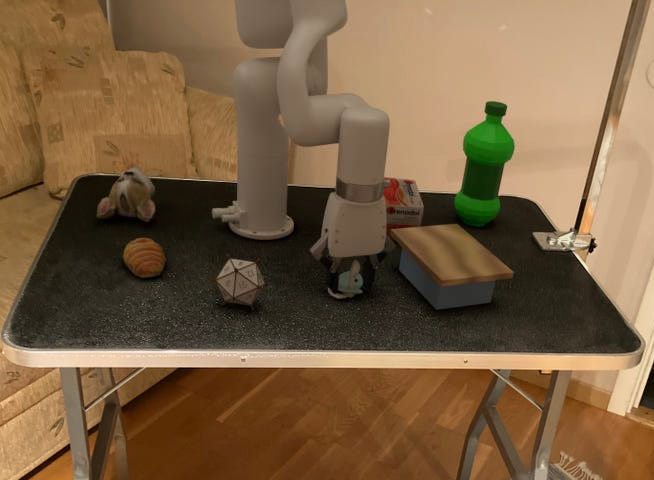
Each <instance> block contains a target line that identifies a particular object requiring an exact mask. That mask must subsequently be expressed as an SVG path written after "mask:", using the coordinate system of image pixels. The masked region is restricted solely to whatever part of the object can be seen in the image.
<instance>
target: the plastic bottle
mask: <svg viewBox="0 0 654 480" xmlns="http://www.w3.org/2000/svg"><path fill="white" fill-rule="evenodd" d="M507 110H508V105H507V104H506V103H503V102H501V101H495V100H490V101H489V100H488V101H486V102H485V106H484V114H486V115H485V120H483V121H481V122H480V123H478V124H476V125H475V126H473V127H472V128H470V129H468V130H467V131H466V133H465V135H464V136H463V141H462V150H463V153H464V155H465V156H466V159H465V165H464V170H463V177H462V182H461V188H460V190H459V191H458V192H457V193H456V195H455V197H454V202H453V204H454V209H455V211H456V214H457V216H458V217H459V218H460V219H461V221H462V223H464V224H466V225H469V226H473V227H484V226H485V225H486V224H488V223H489V222H491V221H492V220H494V219H495V218H496V217H497V216H498V214H499V213H500V211H501V201H500V198H499V194H500V193H499V192H500V190H501V189H500V188H501V183H502V179H503V175H504V174H503V173H504V169H505V164H506V163H508V162H509V161H510V160H512V158H513V155H514V152H515V147H516V145H515V140H514V138H513V137H512V134H510V132H509V131H508V129H507V128H506V126H505V125H504V124H503V123H502V121H503V117H505V116H506V115H507Z"/></svg>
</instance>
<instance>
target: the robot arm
mask: <svg viewBox="0 0 654 480" xmlns="http://www.w3.org/2000/svg"><path fill="white" fill-rule="evenodd" d="M234 5H235V6H234V9H235V18H236V19H235V20H236V28H237V33H238V37H239V39H240V41H241V42H242V43H243V44H244V45H245V47H246V46H247V47H248V48H252V49H257V50H275V49H276V50H279V49H282V51H281V55H280V56H267V57H265V56H264V57H254V58H250V59H247V60H244V61H242V62H240V63H239V64H238V65H237V66H236V67H235V69H234V70H233V72H232V76H231V89H232V95H233V100H234V107H235V116H236V128H237V129H236V135H237V137H236V139H237V142H236V147H237V149H236V151H237V154H236V155H237V157H236V159H237V161H236V164H237V166H236V168H237V169H236V170H237V171H236V200H233V201H232V205H228V206H227V207H223V208H222V207H221V208H220V207H216V208H215V207H214V208H212V209H211V216H212V219H221V221H222V223H228V227H229V229H230V230H231V231H232V232H233V233H235V234H236V235H238V236H241V237H244V238H248V239H252V240H259V241H268V240H276V239H281V238H282V239H283V238H285V237H286V236H287V237H288V236H289V235H290V234H292V232H293V231H294V228H295V225H294V220H293V219H292V217H291V216H288V214H287V208H288V188H289V187H288V184H289V163H290V141H291V142H292V143H293V144H295V145H297V146H299V147H301V148H311V147H319V146H320V147H321V146H328V145H335V144H338V152H337V165H336V176H335V187H334V191H332V192H330V194H329V196H328V198H327V202H326V205H325V210H324V215H323V221H322V227H321V234H320V238H318V240H317V241H316V242H315V244H313V245H312V246H311V247H310V249H309V251H308V252H309V254H310V255H311V256H312V257H313V258H314V259H315V260H317V261H318V262H319V263H321V265H322V266H323V267H324V268H325V269H326V271H325V272H326V273H325V286H326V288H327V289H328V288H330V290H331V291H332V292H333V294H337V293H338V294H339V290H337V289H338V284H339V275H340V273H339V271H338V268H339V267H340V264H341V262H342V259H343V258H352V257H363V256H364V257H365V261H363V263H362V270H361V277H362V279H363V284H362V286H364V288H366V290H368V291H371V290H372V289H373V284H374V283H375V279H376V278H375V277H376V270H377V269H378V268H379V267H380V263H382V262H383V261H384V260H385V259H386V258H387V256H388V255H389V254H390V253H391V252H392V251H393V250H394V249H396V243H395V242H393V241H392V240H391V239H390V238H389V237H388V236H387V234H386V204H385V197H384V196H383V191H384V189H385V188H389V187H390V180H389V179H388V180H385V179H384V177H385V172H386V164H387V156H388V155H387V154H388V148H389V147H388V145H389V137H390V128H391V121H390V117H389V115H388V114H387V112H385V111H384V110H382V109H380V108H377V107H374V106H371V105H370V104H369V103H368V102H367V101H366V100H365V99H364V98H363V97H361V96H359V95H358V94H356V93H352V92H341V93H329V94H328V89H329V67H328V66H329V60H328V58H329V57H328V53H329V52H328V37H330V36H331V35H333V34H335V33H337V32H339V31H340V30H342V29H343V28H344V27H345V26H346V25H347V22H348V19H349V15H348V10H347V9H348V8H347V3H346V0H234ZM280 116H281V119H280ZM281 120H282V122H281ZM282 123H283V124H282ZM325 249H328V253H327V255H324V253H323V251H324V250H325Z"/></svg>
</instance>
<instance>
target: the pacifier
mask: <svg viewBox="0 0 654 480" xmlns="http://www.w3.org/2000/svg"><path fill="white" fill-rule="evenodd" d="M360 270H361V263H360V261H359V260H357V259H353V262H352V264H351V266H350V268H349V270H348V271H345V272H342V273H340V274H339V284H338V289H337V290H338V293H337V294H333V292H332V291H331V290H330V288H328V287H327V292H328V294H329V295H330V296H331V297H333V298H335V299H338V300H339V299H346V298H353V297H355V296H356V295H358V294H363V290H362V289H361V288H362V287H363V279H362V274H360V272H361V271H360ZM339 292H340V293H339Z"/></svg>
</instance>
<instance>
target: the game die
mask: <svg viewBox="0 0 654 480" xmlns="http://www.w3.org/2000/svg"><path fill="white" fill-rule="evenodd" d="M226 258H227V261H226V263H225V264H224V265H223V267H222V268H221V270H220V271H219V273H218V274H217V276H216V278H213V277H212V278H210V279H209V281H211V282H215V283H216V286H217V288H218V290H219V293H220V295H221V297H222V298H223V301H222V302H221V306H225V304H226V303H229V304H230V303H231V304H236V305H242V306H248V307H250V310H251V311H255V307H254V303H255V302H256V300H257V299H258V297H259V295H260V293H261V292H262V291H263V289H264V287H265V286H266V287H268V286H270V285H271V283H269V282H265V279H264V277H263V274H262V272H261V270H260V267H259V265H258V264H259V262H260V261H261V259H260V258H256V259H255V261H252V260H251V261H250V260H244V259H240V258H239V259H238V258H232V257H231V254H229V253H228V252H227V253H226Z"/></svg>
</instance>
